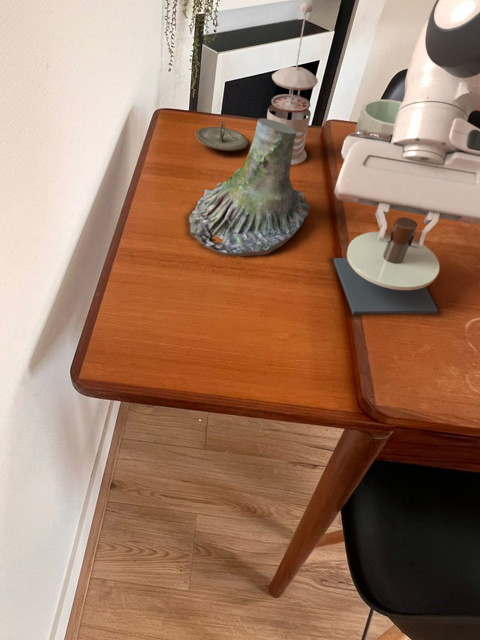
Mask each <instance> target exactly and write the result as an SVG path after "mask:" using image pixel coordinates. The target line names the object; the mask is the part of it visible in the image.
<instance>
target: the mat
mask: <svg viewBox="0 0 480 640" xmlns="http://www.w3.org/2000/svg"><path fill="white" fill-rule="evenodd" d="M333 264H334V267H335V269H336V272H337V275H338V278H339V280H340V283H341V286H342V288H343V291H344V293H345V297H346V300H347V302H348V305H349V308H350V311H351V313H352V315H423V314H425V315H426V314H427V315H429V314H431V315H432V314H438V312H439V310H438V307H437V306H436V303H435V302H434V300H433V298H432V296H431V294H430V292H429V290H428V288H427V286H426V287H423V288H420V289H415V290H395V289H390V288H385V287H382V286H379V285H376V284H374V283H372V282H370V281H368V280H366V279H364V278H363V277H361V276H360V275H359V274H358V273H356V272H355V271H354V270H353V268H352V267H351V266H350V264H349V262H348V259H347V257H334V258H333Z"/></svg>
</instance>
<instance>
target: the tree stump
mask: <svg viewBox="0 0 480 640" xmlns="http://www.w3.org/2000/svg"><path fill="white" fill-rule="evenodd" d="M295 136H296V131H295V130H294V129H293V128H291V127H289V126H287V125H285V124H283V123H280V122H277V121H274V120H269V119H267V118H263V117H262V118H258V120H257V124H256V127H255V132H254V135H253V139H252V142H251V145H250V147H249V151H248V154H247V155H246V159H245V160H244V161H243V164H242V166H241V167H239V168H237V170H235V171H234V173H232V175H231V176H229V178H228V179H227V180H226V181H222V182H218V183H217V184H216V188H214V189H213V188H212V189H210V190H209V189H207V188H206V189H204V194H203V196H202V197H201V198H200V199H198V201H197V204H196V206H195V209H194V210H193V211H192V212H191V213H190V215H189V217H188V221H189V229H190V235H191V236H192V237H194V239H196V240H197V241H198V242H199V243H200V244H201V245H203V246H204V247H205V248H206V249H209V250H211V251H213V252H216V253H217V254H222V255H226V256H233V257H252V256H267V255H268V254H271V253H273V252H275V251H276V250H279V249H280V248H281V247H282V246H284V244H285V243H287V242H288V241H289V240H290V239H291V238H293V236H294V235H295V234H296V233H297V232H298V231H299V229H300V228H301V227H302V226H303V223H304V221H305V219H306V218H307V217H309V211H308V210H310V208H311V207H312V206H311V205H309V204H308V203H307V201H306V200H307V199H306V195H305V193H304V192H303V191H302V190H296V189H294V187H293V184H292V182H291V179H290V175H291V167H292V165H291V159H292V152H293V145H294V140H295ZM214 237H217V238H219V239H221V240H222V241H218V242H217V241H216V239H215V238H214Z"/></svg>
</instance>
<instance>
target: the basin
mask: <svg viewBox="0 0 480 640" xmlns="http://www.w3.org/2000/svg"><path fill="white" fill-rule="evenodd" d="M402 102H403V101H399V100H393V99H373V100H368V101H366V102H365V103H362V106H361V108H360V111H359V115H358V119H357V123H356V127H355V131H354V132H358V130H367V131H368V132H373V133H374V132H375V133H376V132H377V133H386V134H392V132H393V128H394V124H395V120H396V116H397V112H398V109H399V107H400V105H401V104H402ZM356 136H357V135H356ZM356 136H353V137H356ZM389 144H390V143H389Z"/></svg>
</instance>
